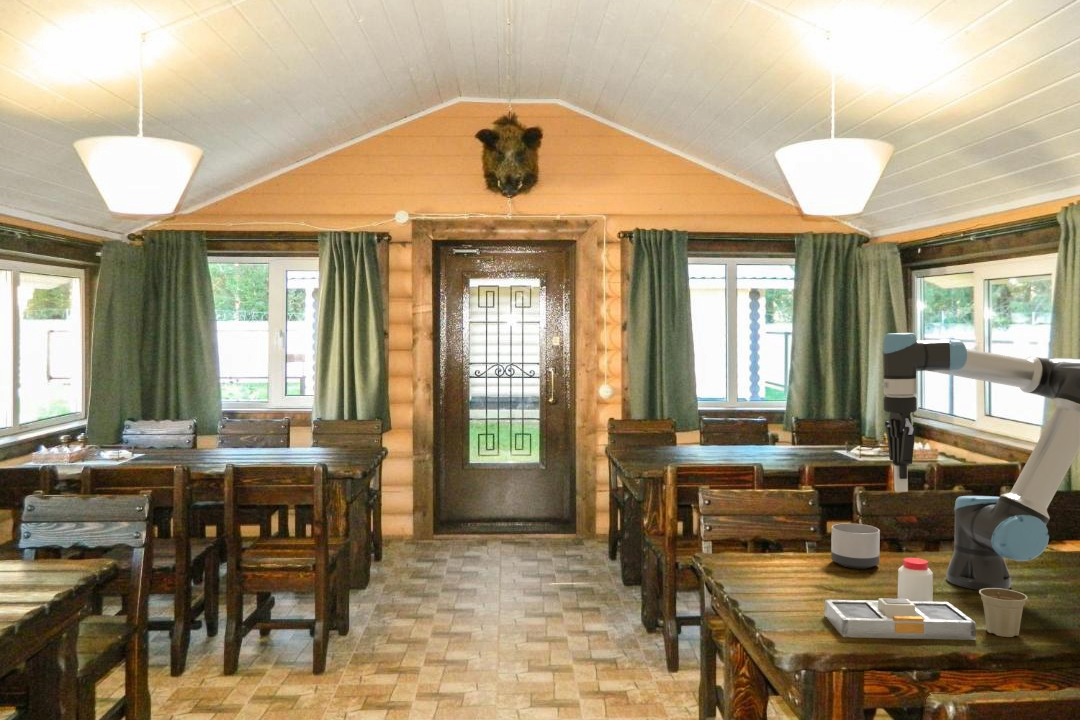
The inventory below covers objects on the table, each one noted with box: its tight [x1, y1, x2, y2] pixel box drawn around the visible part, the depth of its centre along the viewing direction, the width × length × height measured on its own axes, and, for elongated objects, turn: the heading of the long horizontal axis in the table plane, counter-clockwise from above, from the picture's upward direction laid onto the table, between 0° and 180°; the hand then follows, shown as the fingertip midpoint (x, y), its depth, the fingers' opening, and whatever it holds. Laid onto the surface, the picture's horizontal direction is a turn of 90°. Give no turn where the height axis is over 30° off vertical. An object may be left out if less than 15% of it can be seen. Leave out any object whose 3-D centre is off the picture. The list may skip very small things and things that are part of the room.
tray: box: [824, 599, 977, 641], centre depth 190 cm, size 28×14×4 cm, turn 87°
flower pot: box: [978, 588, 1028, 638], centre depth 187 cm, size 9×9×9 cm
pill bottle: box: [897, 557, 934, 602], centre depth 206 cm, size 8×8×11 cm
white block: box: [877, 597, 915, 619], centre depth 190 cm, size 6×4×5 cm
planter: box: [830, 522, 881, 570], centre depth 242 cm, size 13×13×10 cm
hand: (901, 491), depth 209 cm, fingers closed
